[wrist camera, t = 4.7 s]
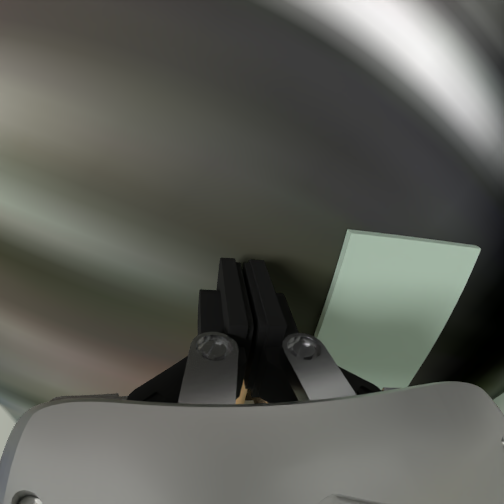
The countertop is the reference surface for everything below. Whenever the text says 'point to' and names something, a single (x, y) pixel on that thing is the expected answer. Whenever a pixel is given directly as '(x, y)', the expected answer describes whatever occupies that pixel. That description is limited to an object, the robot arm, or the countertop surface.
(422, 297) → the mat
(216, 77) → the countertop surface
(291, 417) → the robot arm
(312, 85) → the countertop surface
